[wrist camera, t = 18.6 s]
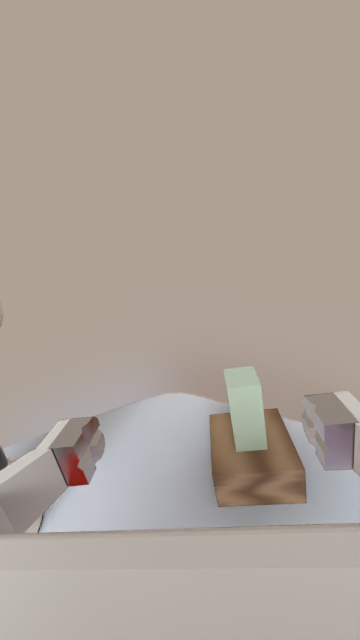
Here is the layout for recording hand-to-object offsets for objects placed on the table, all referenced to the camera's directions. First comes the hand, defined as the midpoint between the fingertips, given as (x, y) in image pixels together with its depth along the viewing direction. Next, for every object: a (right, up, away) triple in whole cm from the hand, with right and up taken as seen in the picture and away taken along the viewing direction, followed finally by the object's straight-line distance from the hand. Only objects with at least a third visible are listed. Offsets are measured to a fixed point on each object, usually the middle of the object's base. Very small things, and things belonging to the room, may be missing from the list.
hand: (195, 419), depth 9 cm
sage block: (+10, -14, +28) cm, 33 cm away
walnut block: (+11, -20, +30) cm, 37 cm away
